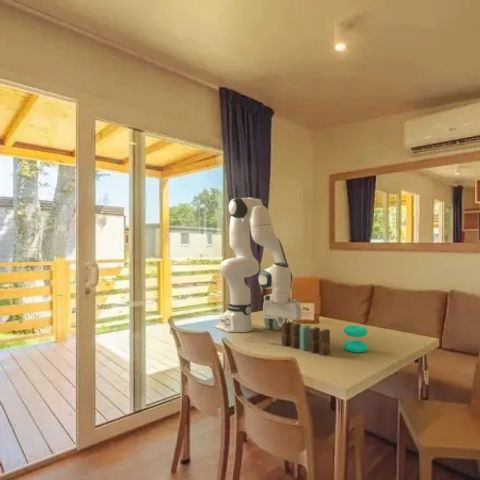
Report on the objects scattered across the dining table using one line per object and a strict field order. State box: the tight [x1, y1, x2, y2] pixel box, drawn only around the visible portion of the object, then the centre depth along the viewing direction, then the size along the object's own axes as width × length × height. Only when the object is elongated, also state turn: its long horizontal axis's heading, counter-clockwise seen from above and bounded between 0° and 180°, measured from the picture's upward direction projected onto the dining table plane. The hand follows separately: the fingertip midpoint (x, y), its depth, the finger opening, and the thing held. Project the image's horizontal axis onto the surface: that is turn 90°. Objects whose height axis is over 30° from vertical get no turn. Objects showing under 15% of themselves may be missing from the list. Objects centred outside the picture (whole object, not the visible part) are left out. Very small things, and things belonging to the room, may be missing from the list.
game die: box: [287, 319, 300, 325], centre depth 185 cm, size 9×8×10 cm
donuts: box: [343, 324, 369, 354], centre depth 162 cm, size 10×10×10 cm
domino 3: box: [299, 324, 311, 352], centre depth 164 cm, size 2×5×10 cm, turn 136°
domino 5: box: [319, 328, 331, 356], centre depth 157 cm, size 2×5×10 cm, turn 136°
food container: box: [262, 314, 283, 331], centre depth 204 cm, size 12×12×7 cm
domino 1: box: [281, 321, 292, 347], centre depth 171 cm, size 2×5×10 cm, turn 136°
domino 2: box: [290, 323, 302, 349], centre depth 168 cm, size 2×5×10 cm, turn 136°
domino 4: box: [308, 326, 321, 354], centre depth 161 cm, size 2×5×10 cm, turn 136°
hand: (281, 326), depth 173 cm, fingers closed
